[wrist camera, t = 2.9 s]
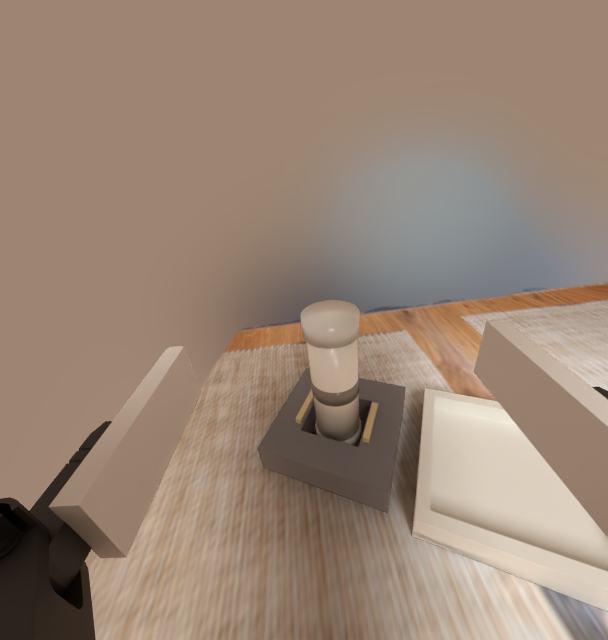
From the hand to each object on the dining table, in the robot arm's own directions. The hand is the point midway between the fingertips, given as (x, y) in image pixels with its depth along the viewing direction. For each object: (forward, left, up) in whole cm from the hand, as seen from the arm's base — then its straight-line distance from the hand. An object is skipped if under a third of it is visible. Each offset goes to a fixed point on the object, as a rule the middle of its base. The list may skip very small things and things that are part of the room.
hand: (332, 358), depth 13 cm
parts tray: (-9, +11, -18) cm, 23 cm away
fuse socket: (-9, -4, -18) cm, 21 cm away
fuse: (-9, -4, -18) cm, 21 cm away
